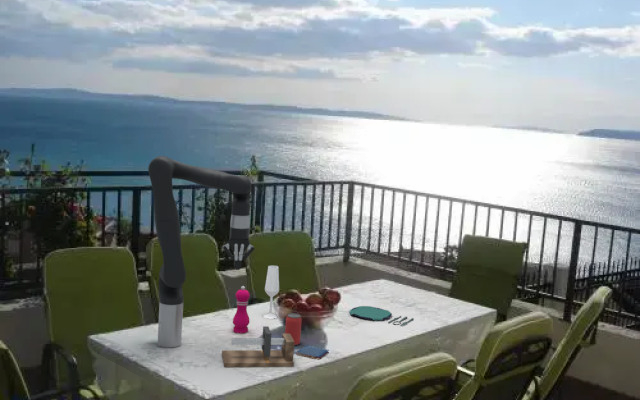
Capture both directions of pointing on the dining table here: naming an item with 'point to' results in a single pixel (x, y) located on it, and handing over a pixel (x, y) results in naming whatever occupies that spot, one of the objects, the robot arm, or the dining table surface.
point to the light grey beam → (257, 341)
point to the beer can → (294, 327)
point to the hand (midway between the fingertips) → (237, 269)
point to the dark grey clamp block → (266, 341)
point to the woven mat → (312, 352)
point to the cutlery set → (375, 314)
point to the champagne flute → (272, 287)
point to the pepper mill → (241, 311)
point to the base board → (261, 356)
